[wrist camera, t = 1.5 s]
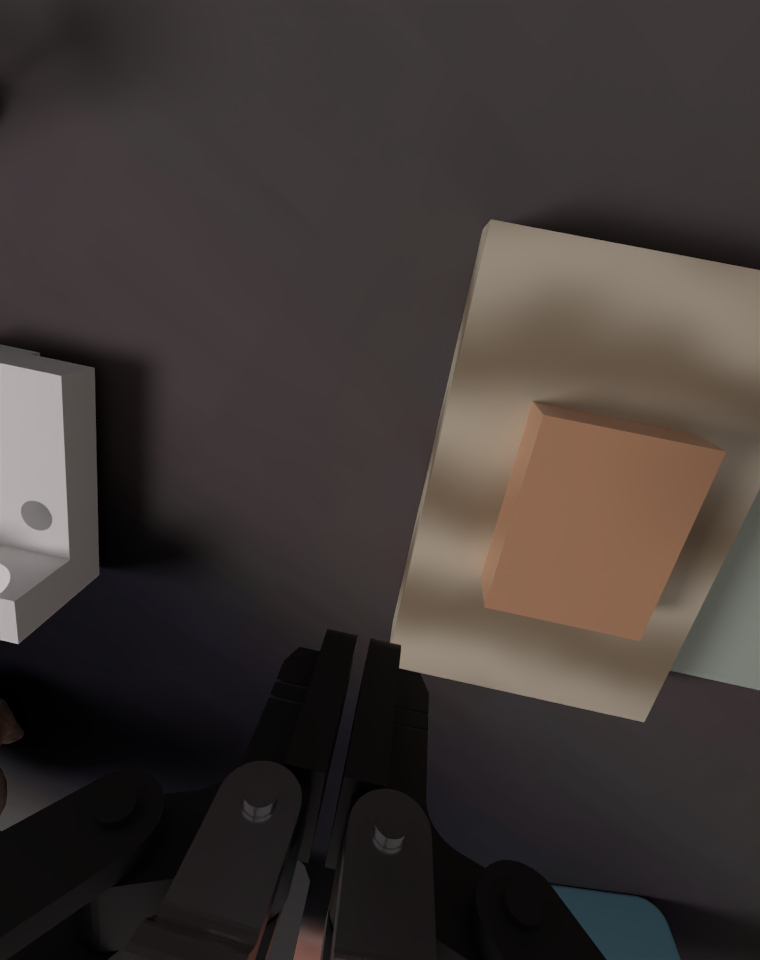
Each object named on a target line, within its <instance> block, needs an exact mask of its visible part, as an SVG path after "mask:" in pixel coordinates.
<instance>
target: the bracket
mask: <svg viewBox="0 0 760 960" xmlns="http://www.w3.org/2000/svg"><path fill="white" fill-rule="evenodd" d="M97 576H99V543H98V497H97V451H96V405H95V368H94V367H89V366H84V365H79V364H74V363H70V362H65V361H60V360H55V359H51V358H46V357H41V356H40V353H39V352H34V351H29V350H24V349H20V348H15V347H10V346H5V345H1V344H0V640H3V641H7V642H12V643H16V644H19V643H20V642H21V641H23V640H24V639H25V638H26V637H27V636H28V635H30V634H31V633H32V632H33V631H34V630H35V629H37V628H38V627H39V626H40V625H41V624H42V623H44V622H45V621H46V620H47V619H48V618H49V617H51V616H52V615H53V614H54V613H55V612H56V611H58V610H59V609H60V608H61V607H62V606H63V605H65V604H66V603H67V602H68V601H69V600H70V599H72V598H73V597H74V596H75V595H76V594H78V593H79V592H80V591H81V590H82V589H83V588H85V587H86V586H87V585H88V584H89V583H90V582H92V581H93V580H94V579H95V578H96V577H97Z"/></svg>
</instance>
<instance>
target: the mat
mask: <svg viewBox="0 0 760 960" xmlns="http://www.w3.org/2000/svg"><path fill="white" fill-rule="evenodd" d="M670 671H674V672H679V673H683V674H688V675H693V676H697V677H702V678H706V679H711V680H716V681H720V682H725V683H729V684H734V685H739V686H743V687H748V688H752V689H757V690H760V489H759V491H758V493H757V495H756V497H755V499H754V501H753V503H752V505H751V507H750V509H749V511H748V513H747V515H746V517H745V519H744V521H743V524H742V526H741V528H740V530H739V532H738V534H737V536H736V538H735V540H734V542H733V544H732V546H731V548H730V550H729V552H728V554H727V556H726V558H725V560H724V562H723V564H722V566H721V568H720V570H719V572H718V574H717V576H716V578H715V580H714V582H713V584H712V586H711V588H710V590H709V592H708V594H707V596H706V598H705V600H704V602H703V604H702V606H701V608H700V610H699V612H698V614H697V616H696V618H695V621H694V623H693V625H692V627H691V629H690V631H689V633H688V635H687V637H686V639H685V641H684V643H683V645H682V647H681V649H680V651H679V653H678V655H677V657H676V659H675V661H674V663H673V665H672V667H671V669H670Z"/></svg>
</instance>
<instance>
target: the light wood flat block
mask: <svg viewBox="0 0 760 960" xmlns="http://www.w3.org/2000/svg"><path fill="white" fill-rule="evenodd" d="M532 401H534V402H539V403H544V404H549V405H554V406H559V407H564V408H569V409H574V410H579V411H584V412H589V413H594V414H599V415H604V416H609V417H614V418H619V419H624V420H629V421H634V422H639V423H644V424H649V425H654V426H659V427H664V428H669V429H674V430H679V431H684V432H689V433H694V434H697V435H698V436H700V437H702V438H704V439H705V440H707V441H709V442H710V443H712V444H714V445H716V446H717V447H719V448H721V449H722V450H724V451H726V453H725V455H724V458H723V460H722V462H721V464H720V466H719V469H718V471H717V473H716V475H715V477H714V480H713V482H712V484H711V486H710V488H709V491H708V493H707V495H706V497H705V499H704V502H703V504H702V506H701V508H700V510H699V513H698V515H697V517H696V519H695V521H694V524H693V526H692V528H691V530H690V532H689V535H688V537H687V539H686V541H685V543H684V546H683V548H682V550H681V552H680V554H679V557H678V559H677V561H676V563H675V565H674V568H673V570H672V572H671V574H670V576H669V579H668V581H667V583H666V585H665V587H664V590H663V592H662V594H661V596H660V598H659V601H658V603H657V605H656V607H655V609H654V611H653V614H652V616H651V618H650V620H649V622H648V625H647V627H646V629H645V631H644V633H643V636H642V638H641V640H640V641H638V640H633V639H628V638H624V637H619V636H614V635H610V634H605V633H601V632H596V631H591V630H587V629H582V628H577V627H573V626H568V625H563V624H559V623H554V622H550V621H545V620H540V619H536V618H531V617H526V616H522V615H517V614H512V613H508V612H503V611H499V610H494V609H489V608H485V607H484V600H483V593H482V586H481V579H480V578H481V574H482V571H483V567H484V564H485V561H486V557H487V554H488V550H489V547H490V544H491V540H492V537H493V533H494V530H495V527H496V523H497V520H498V517H499V513H500V510H501V506H502V503H503V500H504V496H505V493H506V489H507V486H508V483H509V479H510V476H511V473H512V469H513V466H514V462H515V459H516V456H517V452H518V449H519V445H520V442H521V439H522V435H523V432H524V428H525V425H526V422H527V418H528V415H529V412H530V408H531V405H532ZM759 489H760V270H756V269H751V268H746V267H740V266H735V265H730V264H724V263H719V262H714V261H709V260H703V259H698V258H693V257H687V256H682V255H677V254H671V253H666V252H661V251H656V250H650V249H645V248H640V247H634V246H629V245H624V244H618V243H613V242H608V241H603V240H597V239H592V238H587V237H581V236H576V235H571V234H565V233H560V232H555V231H549V230H544V229H539V228H534V227H528V226H523V225H518V224H512V223H507V222H502V221H496V220H490V221H489V223H488V224H487V225H486V226H485V228H484V229H483V231H482V235H481V240H480V244H479V248H478V253H477V257H476V262H475V266H474V270H473V275H472V279H471V283H470V288H469V292H468V296H467V301H466V305H465V310H464V314H463V318H462V323H461V327H460V331H459V336H458V340H457V344H456V349H455V353H454V357H453V362H452V366H451V371H450V375H449V379H448V384H447V388H446V392H445V397H444V401H443V405H442V410H441V414H440V418H439V423H438V427H437V432H436V436H435V440H434V445H433V449H432V453H431V458H430V462H429V466H428V471H427V475H426V480H425V484H424V488H423V493H422V497H421V501H420V506H419V510H418V514H417V519H416V523H415V527H414V532H413V536H412V541H411V545H410V549H409V554H408V558H407V562H406V567H405V571H404V575H403V580H402V584H401V588H400V593H399V597H398V602H397V606H396V610H395V615H394V619H393V625H392V633H391V640H390V643H394V644H399V645H401V655H400V665H399V668H401V669H406V670H411V671H415V672H420V673H424V674H429V675H433V676H438V677H442V678H447V679H451V680H456V681H460V682H465V683H469V684H474V685H478V686H483V687H487V688H492V689H496V690H501V691H505V692H510V693H515V694H519V695H524V696H528V697H533V698H537V699H542V700H546V701H551V702H555V703H560V704H564V705H569V706H573V707H578V708H582V709H587V710H591V711H596V712H600V713H605V714H609V715H614V716H619V717H623V718H628V719H632V720H637V721H641V722H645V720H646V718H647V715H648V713H649V711H650V709H651V707H652V705H653V703H654V701H655V699H656V697H657V695H658V693H659V691H660V689H661V687H662V685H663V683H664V681H665V679H666V677H667V675H668V673H669V671H670V669H671V667H672V665H673V663H674V661H675V659H676V657H677V655H678V653H679V651H680V649H681V647H682V645H683V643H684V641H685V639H686V637H687V635H688V633H689V631H690V629H691V627H692V625H693V623H694V621H695V618H696V616H697V614H698V612H699V610H700V608H701V606H702V604H703V602H704V600H705V598H706V596H707V594H708V592H709V590H710V588H711V586H712V584H713V582H714V580H715V578H716V576H717V574H718V572H719V570H720V568H721V566H722V564H723V562H724V560H725V558H726V556H727V554H728V552H729V550H730V548H731V546H732V544H733V542H734V540H735V538H736V536H737V534H738V532H739V530H740V528H741V526H742V524H743V521H744V519H745V517H746V515H747V513H748V511H749V509H750V507H751V505H752V503H753V501H754V499H755V497H756V495H757V493H758V491H759Z"/></svg>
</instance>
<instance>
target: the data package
mask: <svg viewBox="0 0 760 960" xmlns="http://www.w3.org/2000/svg"><path fill="white" fill-rule="evenodd" d="M550 885H551V884H550ZM551 886H552V887H553V889H554V890H555V891H556V893H557V894H558V895H559V897H560V898H561V899H562V901H563V902H564V903H565V905H566V906H567V907H568V909H569V910H570V911H571V913H572V914H573V915H574V917H575V918H576V919H577V921H578V922H579V923H580V925H581V926H582V927H583V929H584V930H585V931H586V933H587V934H588V935H589V937H590V938H591V939H592V941H593V942H594V943H595V945H596V946H597V947H598V949H599V950H600V951H601V953H602V954H603V955H604V957H605V958H606V959H607V960H681V959H680V956H679V953H678V951H677V948H676V945H675V942H674V939H673V937H672V934H671V931H670V928H669V925H668V923H667V921H666V919H665V917H664V916H663V914H662V913H661V911H660V910H659V909H658V908H657V907H656V906H655V905H654V904H652V903H651V902H650V901H648V900H646V899H644V898H642V897H639V896H633V895H625V894H618V893H611V892H603V891H596V890H588V889H581V888H573V887H566V886H558V885H551Z"/></svg>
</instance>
